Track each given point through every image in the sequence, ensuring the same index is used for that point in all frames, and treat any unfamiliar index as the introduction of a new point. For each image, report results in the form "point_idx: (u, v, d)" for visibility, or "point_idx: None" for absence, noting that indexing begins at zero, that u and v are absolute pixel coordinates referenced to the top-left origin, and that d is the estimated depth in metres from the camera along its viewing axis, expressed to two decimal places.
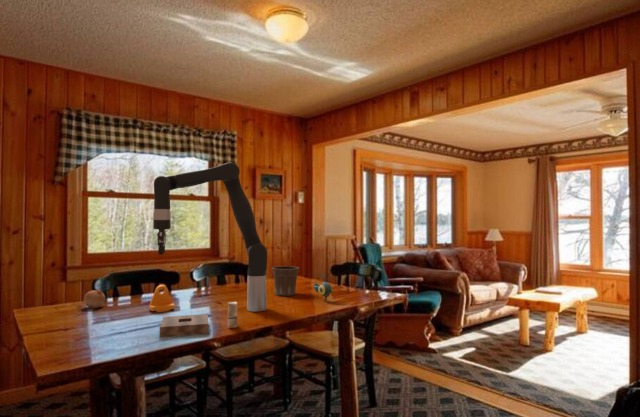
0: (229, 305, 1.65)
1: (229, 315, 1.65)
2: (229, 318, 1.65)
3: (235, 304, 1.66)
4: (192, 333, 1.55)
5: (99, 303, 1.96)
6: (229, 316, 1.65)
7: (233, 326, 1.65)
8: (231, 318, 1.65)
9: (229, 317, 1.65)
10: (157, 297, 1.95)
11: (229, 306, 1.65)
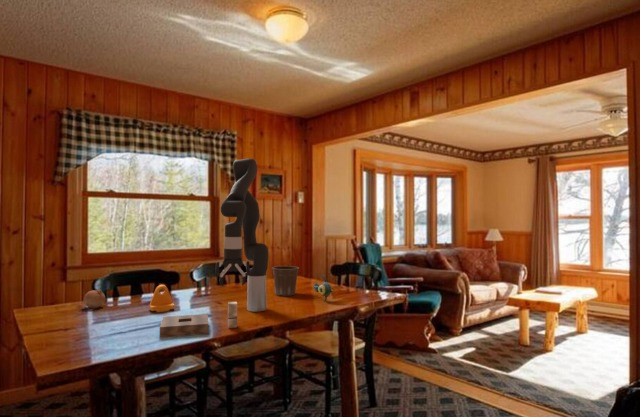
0: (229, 305, 1.65)
1: (229, 315, 1.65)
2: (229, 318, 1.65)
3: (235, 304, 1.66)
4: (192, 333, 1.55)
5: (99, 303, 1.96)
6: (229, 316, 1.65)
7: (233, 326, 1.65)
8: (231, 318, 1.65)
9: (229, 317, 1.65)
10: (157, 297, 1.95)
11: (229, 306, 1.65)
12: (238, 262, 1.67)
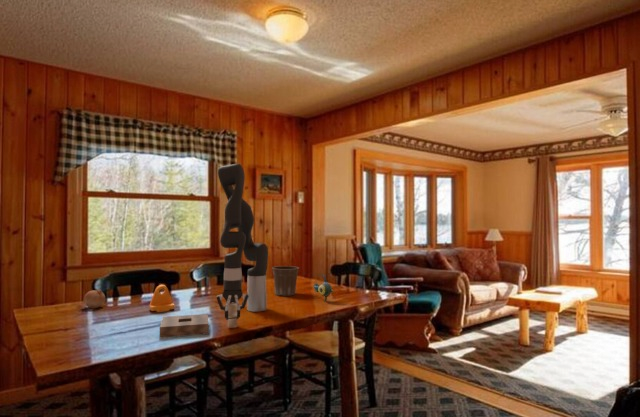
0: (229, 305, 1.65)
1: (229, 315, 1.65)
2: (229, 318, 1.65)
3: (235, 304, 1.66)
4: (192, 333, 1.55)
5: (99, 303, 1.96)
6: (229, 316, 1.65)
7: (233, 326, 1.65)
8: (231, 318, 1.65)
9: (229, 317, 1.65)
10: (157, 297, 1.95)
11: (229, 306, 1.65)
12: (238, 292, 1.67)
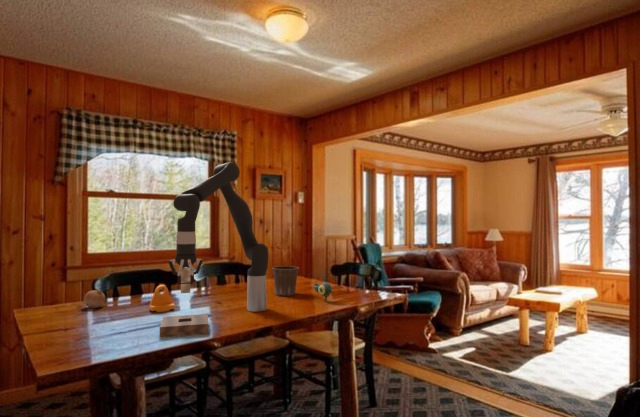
0: (182, 270, 1.60)
1: (182, 280, 1.59)
2: (182, 283, 1.59)
3: (188, 269, 1.60)
4: (192, 333, 1.55)
5: (99, 303, 1.96)
6: (182, 281, 1.59)
7: (186, 291, 1.60)
8: (184, 283, 1.60)
9: (182, 282, 1.59)
10: (157, 297, 1.95)
11: (182, 271, 1.60)
12: (192, 257, 1.61)
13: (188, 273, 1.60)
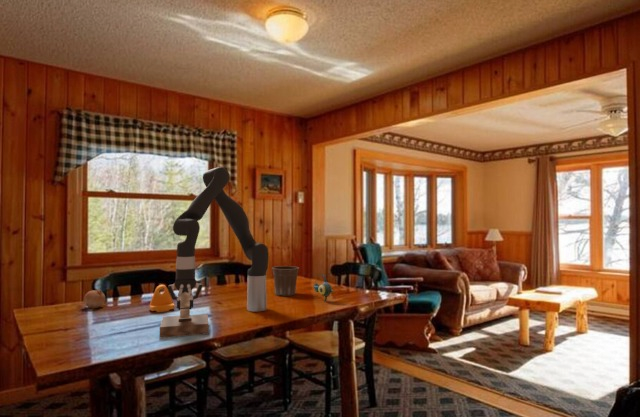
0: (181, 295, 1.59)
1: (181, 305, 1.59)
2: (181, 308, 1.59)
3: (187, 294, 1.60)
4: (192, 333, 1.55)
5: (99, 303, 1.96)
6: (181, 306, 1.59)
7: (185, 316, 1.60)
8: (183, 308, 1.60)
9: (181, 307, 1.59)
10: (157, 297, 1.95)
11: (181, 296, 1.59)
12: (191, 282, 1.61)
13: (187, 298, 1.60)
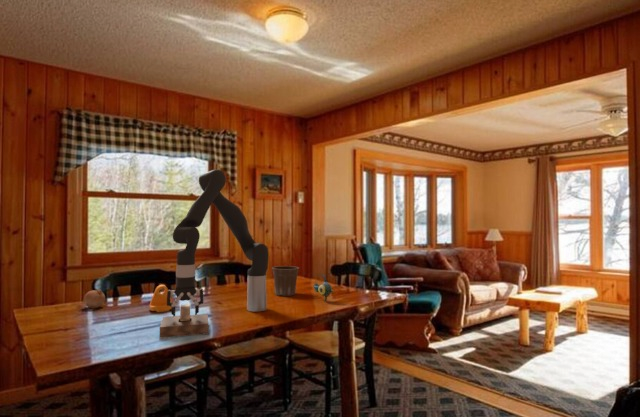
0: (181, 308, 1.59)
1: (181, 318, 1.59)
2: (181, 321, 1.59)
3: (187, 307, 1.60)
4: (192, 333, 1.55)
5: (99, 303, 1.96)
6: (181, 319, 1.59)
7: None
8: (183, 321, 1.59)
9: (181, 320, 1.59)
10: (157, 297, 1.95)
11: (181, 309, 1.59)
12: (191, 290, 1.61)
13: (187, 311, 1.60)
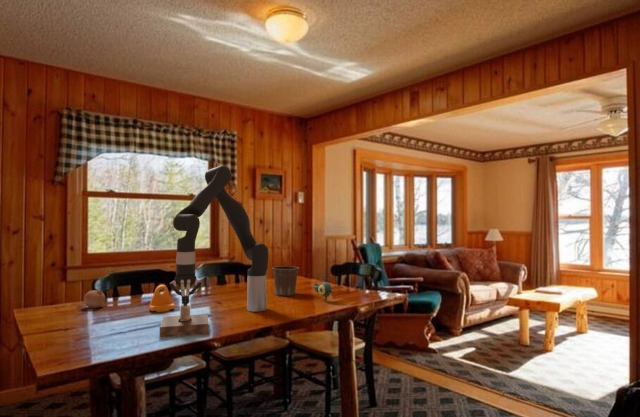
0: (181, 308, 1.59)
1: (181, 318, 1.59)
2: (181, 321, 1.59)
3: (187, 307, 1.60)
4: (192, 333, 1.55)
5: (99, 303, 1.96)
6: (181, 319, 1.59)
7: None
8: (183, 321, 1.59)
9: (181, 320, 1.59)
10: (157, 297, 1.95)
11: (181, 309, 1.59)
12: (192, 277, 1.61)
13: (187, 311, 1.60)
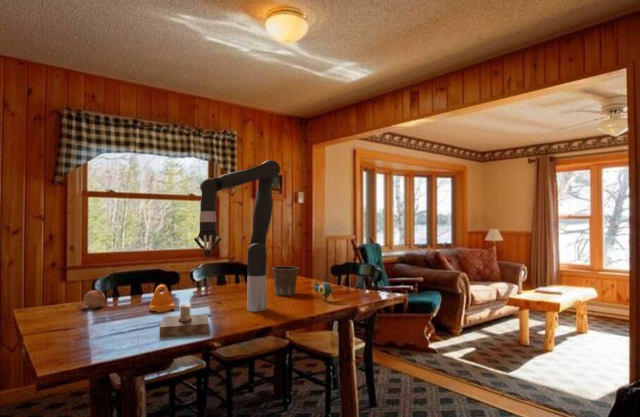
0: (181, 308, 1.59)
1: (181, 318, 1.59)
2: (181, 321, 1.59)
3: (187, 307, 1.60)
4: (192, 333, 1.55)
5: (99, 303, 1.96)
6: (181, 319, 1.59)
7: None
8: (183, 321, 1.59)
9: (181, 320, 1.59)
10: (157, 297, 1.95)
11: (181, 309, 1.59)
12: (213, 233, 1.86)
13: (187, 311, 1.60)
